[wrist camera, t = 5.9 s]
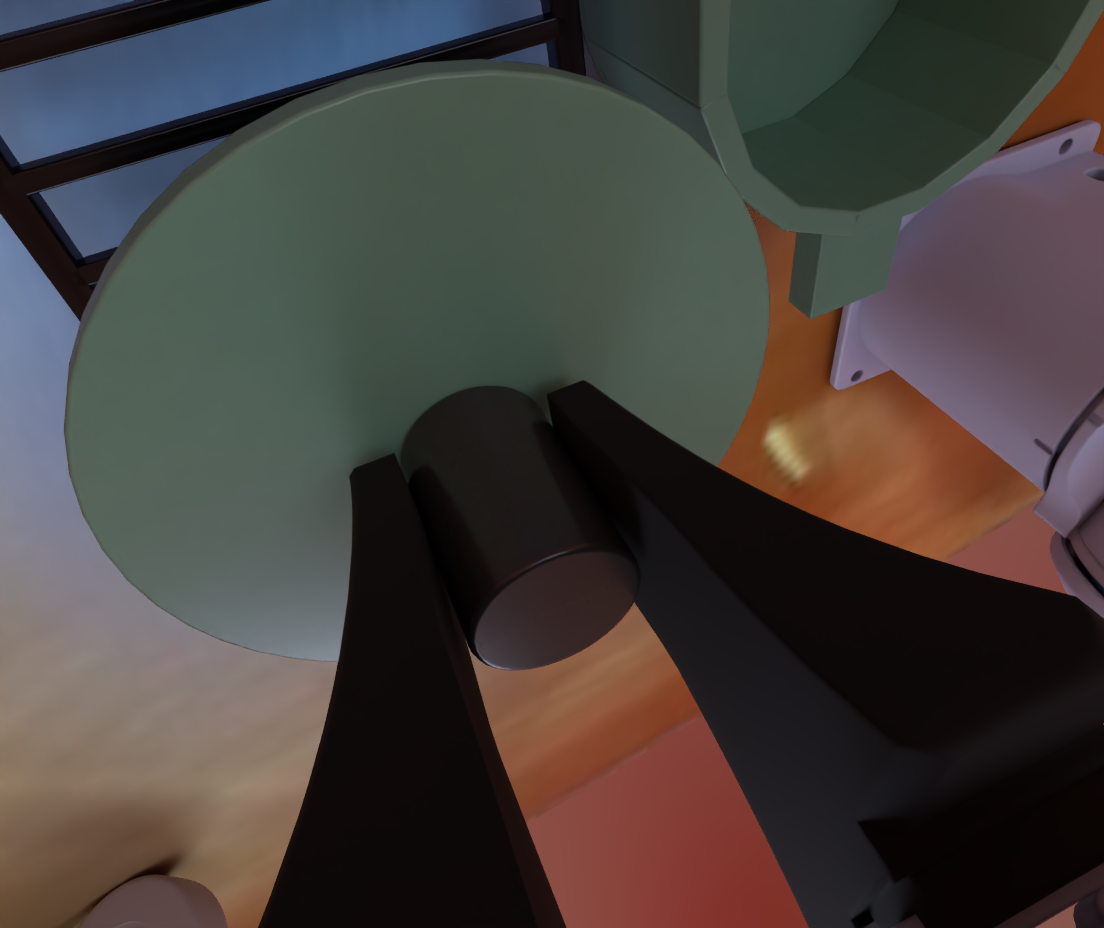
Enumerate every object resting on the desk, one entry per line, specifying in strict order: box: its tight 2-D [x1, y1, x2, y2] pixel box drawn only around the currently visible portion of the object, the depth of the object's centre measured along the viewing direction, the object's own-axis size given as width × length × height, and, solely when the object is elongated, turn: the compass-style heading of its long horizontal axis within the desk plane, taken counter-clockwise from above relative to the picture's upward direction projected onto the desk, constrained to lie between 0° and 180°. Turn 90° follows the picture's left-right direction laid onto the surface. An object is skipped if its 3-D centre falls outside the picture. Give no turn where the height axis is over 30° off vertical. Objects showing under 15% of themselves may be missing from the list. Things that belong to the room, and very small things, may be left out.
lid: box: [64, 59, 770, 670], centre depth 11 cm, size 11×11×4 cm
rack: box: [0, 0, 586, 322], centre depth 16 cm, size 11×15×4 cm
